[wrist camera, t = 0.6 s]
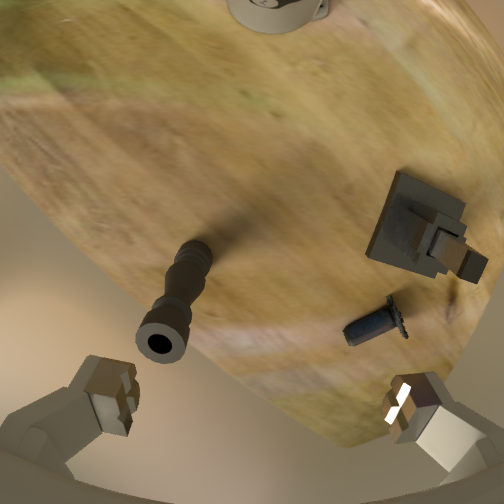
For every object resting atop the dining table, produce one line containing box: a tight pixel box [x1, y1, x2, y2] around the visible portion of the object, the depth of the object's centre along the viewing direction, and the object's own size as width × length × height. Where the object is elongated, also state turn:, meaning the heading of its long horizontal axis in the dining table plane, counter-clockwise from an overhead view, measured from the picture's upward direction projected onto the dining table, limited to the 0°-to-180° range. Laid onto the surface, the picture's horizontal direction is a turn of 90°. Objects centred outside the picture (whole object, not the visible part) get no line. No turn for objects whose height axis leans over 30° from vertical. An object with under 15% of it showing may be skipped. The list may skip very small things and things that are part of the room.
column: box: [427, 226, 489, 284], centre depth 44 cm, size 4×4×17 cm
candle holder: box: [136, 240, 212, 364], centre depth 44 cm, size 6×6×25 cm
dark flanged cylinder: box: [343, 296, 409, 346], centre depth 59 cm, size 9×8×12 cm
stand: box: [365, 171, 467, 279], centre depth 49 cm, size 16×16×10 cm
